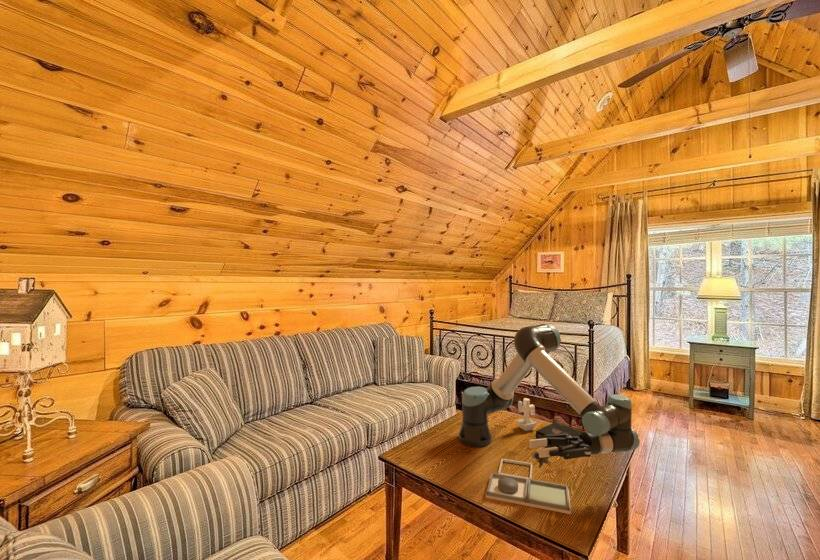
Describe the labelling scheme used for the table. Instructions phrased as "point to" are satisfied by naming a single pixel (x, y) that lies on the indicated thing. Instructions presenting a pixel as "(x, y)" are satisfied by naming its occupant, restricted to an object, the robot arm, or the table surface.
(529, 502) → the tray
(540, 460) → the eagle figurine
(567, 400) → the robot arm
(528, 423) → the figurine
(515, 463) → the white square frame
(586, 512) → the table surface
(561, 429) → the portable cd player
